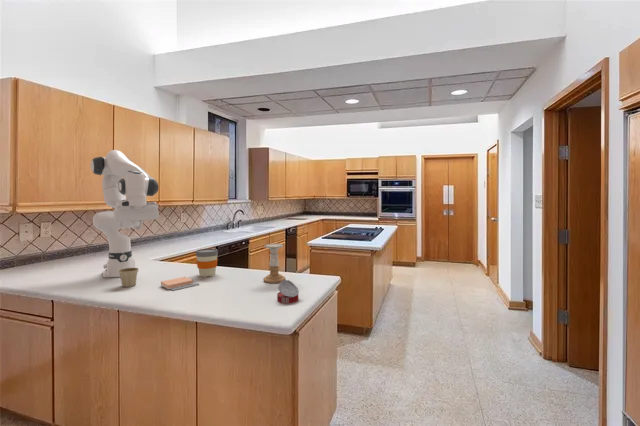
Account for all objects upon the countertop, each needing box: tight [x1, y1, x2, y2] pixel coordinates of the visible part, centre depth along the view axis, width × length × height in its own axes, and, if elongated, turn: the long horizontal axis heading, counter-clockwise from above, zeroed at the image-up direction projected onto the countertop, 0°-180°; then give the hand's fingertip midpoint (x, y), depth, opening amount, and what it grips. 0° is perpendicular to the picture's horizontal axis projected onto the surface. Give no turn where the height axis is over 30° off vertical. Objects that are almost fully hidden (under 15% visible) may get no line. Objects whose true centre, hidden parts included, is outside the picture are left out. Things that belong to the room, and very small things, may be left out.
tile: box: [160, 276, 194, 290], centre depth 170 cm, size 10×2×13 cm
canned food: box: [276, 279, 300, 304], centre depth 147 cm, size 11×10×10 cm
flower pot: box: [118, 267, 140, 288], centre depth 170 cm, size 9×9×9 cm
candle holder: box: [262, 243, 286, 284], centre depth 179 cm, size 12×12×20 cm
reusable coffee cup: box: [195, 248, 219, 278], centre depth 191 cm, size 13×13×15 cm
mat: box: [169, 281, 200, 292], centre depth 171 cm, size 16×14×1 cm
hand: (137, 229), depth 162 cm, fingers closed
